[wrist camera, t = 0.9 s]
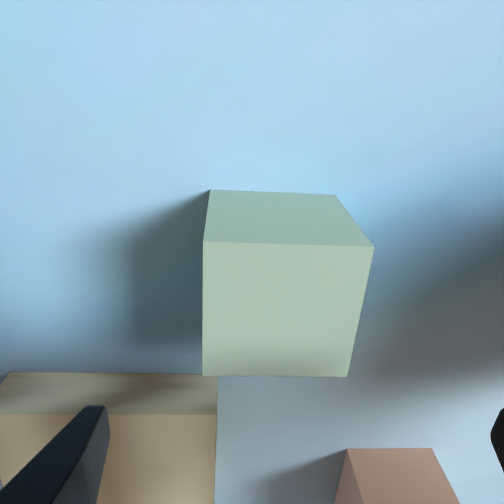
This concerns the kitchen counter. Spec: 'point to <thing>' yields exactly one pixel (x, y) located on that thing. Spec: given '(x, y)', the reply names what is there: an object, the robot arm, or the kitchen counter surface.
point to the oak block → (121, 430)
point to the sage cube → (281, 284)
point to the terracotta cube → (393, 478)
